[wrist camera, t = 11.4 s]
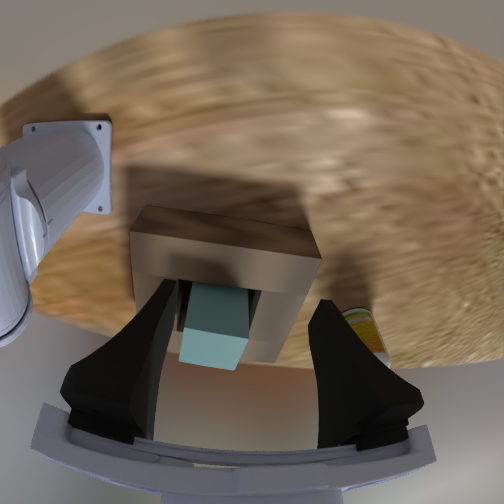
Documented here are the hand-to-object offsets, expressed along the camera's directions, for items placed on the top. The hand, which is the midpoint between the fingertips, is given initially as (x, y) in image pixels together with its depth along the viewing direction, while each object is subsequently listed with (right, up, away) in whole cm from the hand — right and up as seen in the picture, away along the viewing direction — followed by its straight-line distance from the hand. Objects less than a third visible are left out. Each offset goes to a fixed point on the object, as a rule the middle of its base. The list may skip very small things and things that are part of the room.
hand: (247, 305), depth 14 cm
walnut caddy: (-3, 0, +13) cm, 13 cm away
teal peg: (-3, 0, +13) cm, 13 cm away
